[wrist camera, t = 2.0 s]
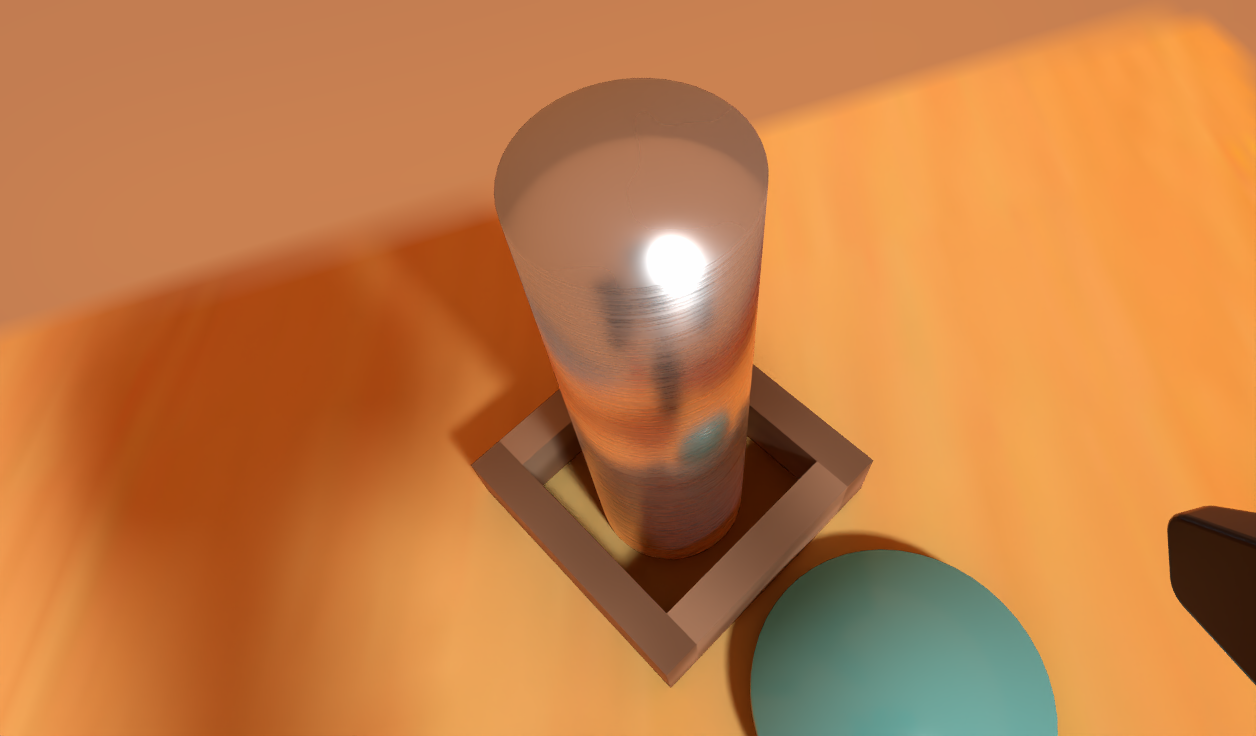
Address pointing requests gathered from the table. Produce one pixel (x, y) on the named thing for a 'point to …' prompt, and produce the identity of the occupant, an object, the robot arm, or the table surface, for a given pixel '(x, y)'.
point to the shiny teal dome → (896, 655)
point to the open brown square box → (736, 578)
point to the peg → (645, 293)
